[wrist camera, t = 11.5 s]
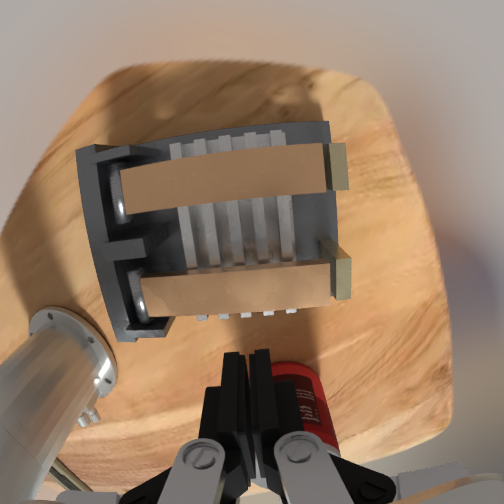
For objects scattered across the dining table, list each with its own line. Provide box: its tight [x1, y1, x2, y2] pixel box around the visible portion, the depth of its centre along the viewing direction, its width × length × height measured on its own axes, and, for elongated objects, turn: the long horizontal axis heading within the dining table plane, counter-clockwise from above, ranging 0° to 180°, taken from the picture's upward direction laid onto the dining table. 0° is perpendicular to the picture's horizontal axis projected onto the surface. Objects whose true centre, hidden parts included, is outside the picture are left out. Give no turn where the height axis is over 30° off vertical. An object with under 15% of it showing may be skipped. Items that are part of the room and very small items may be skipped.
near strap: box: [107, 143, 326, 224], centre depth 17 cm, size 4×13×1 cm, turn 96°
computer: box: [47, 457, 93, 492], centre depth 37 cm, size 16×8×3 cm, turn 16°
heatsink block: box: [75, 121, 351, 342], centre depth 20 cm, size 14×18×7 cm
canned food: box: [250, 361, 341, 489], centre depth 23 cm, size 8×8×11 cm
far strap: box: [126, 258, 330, 324], centre depth 18 cm, size 4×13×1 cm, turn 96°
